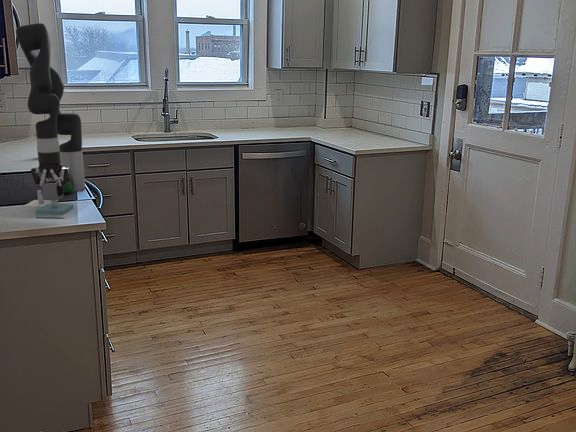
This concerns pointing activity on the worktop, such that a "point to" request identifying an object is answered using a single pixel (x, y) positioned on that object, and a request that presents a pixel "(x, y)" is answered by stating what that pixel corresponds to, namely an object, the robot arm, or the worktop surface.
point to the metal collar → (50, 190)
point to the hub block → (54, 209)
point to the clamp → (68, 188)
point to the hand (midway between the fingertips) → (53, 195)
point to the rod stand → (39, 200)
